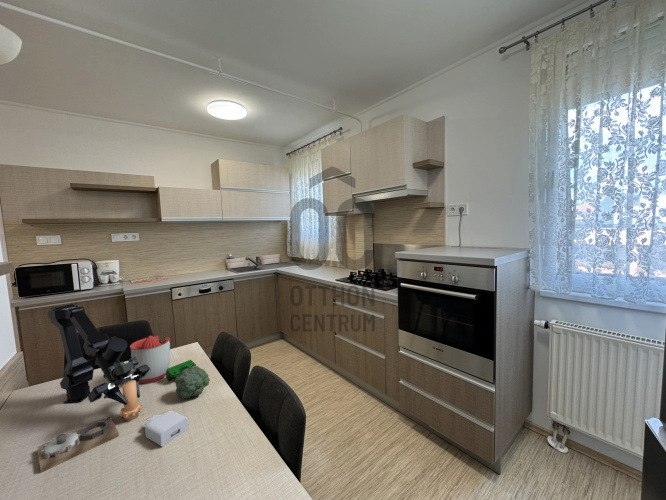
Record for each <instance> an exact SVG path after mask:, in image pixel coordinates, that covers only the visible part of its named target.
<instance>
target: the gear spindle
mask: <svg viewBox="0 0 666 500" xmlns="http://www.w3.org/2000/svg"><path fill="white" fill-rule="evenodd" d="M121 385H122V394H123V396H124V397H125V399H126V401H127V405H124V404H123V407H122V408H121V409H120V412H119V417H120V418H122V417H123V418H124V420H125V421H127V422H129V421H133V420H135V419H136V418H138V417H139V413H141V412H142V409H143V403H139V402H138V398H137V389H136V381H135V380H131V381H127V382H125V383H123V384H121Z"/></svg>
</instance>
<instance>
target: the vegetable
mask: <svg viewBox="0 0 666 500" xmlns="http://www.w3.org/2000/svg"><path fill="white" fill-rule="evenodd" d="M174 380H175V381H174V383H175V388H176V390H175V394H176V395H177V396H178V397H179V398H180V399H190V398H191V397H193V398H196V396H200V395H201V393H202V392H204V390H205V389H204V388H206V387H207V386H209V384H210V380H211V379H210V378H209V374H208V373H207V372H206V370H205V369H204V368H201V367H199V366H197V365H196V366H191V367H189V368H187V369H185V370H183V371H182V372H181V374H180V375H179V376H178V377H176V379H174Z"/></svg>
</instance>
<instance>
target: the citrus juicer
mask: <svg viewBox="0 0 666 500" xmlns="http://www.w3.org/2000/svg"><path fill="white" fill-rule="evenodd" d="M170 340H171V338H170V337H169V336H167V337H165V339H164V341H162V340H160V337H159V335H156V336H155V335H154V336H153V335H149V336H147V337H146V338H142V339H139V340H136V341H134V342H132V343H131V344H130V345H129V349H130V353H131V355H130V357H131V358H134V357H136V358H137V360H138V362H139V364H138V365H136V366H135V369H133V370H132V373H133V372H134V371H135V370H136V368H138V367H140V366H143V365H145V364H146V365H148V366H149V367H150V370H149V371H148V373H147V374H146V375H145V376H144V377H142V378H140V379H139V384H148V383H155V382H158V381H159V380H161V379H163V378H164V377H165V378H166V369H168V368H170V364H171V343H170ZM131 358H130V359H131Z"/></svg>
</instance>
